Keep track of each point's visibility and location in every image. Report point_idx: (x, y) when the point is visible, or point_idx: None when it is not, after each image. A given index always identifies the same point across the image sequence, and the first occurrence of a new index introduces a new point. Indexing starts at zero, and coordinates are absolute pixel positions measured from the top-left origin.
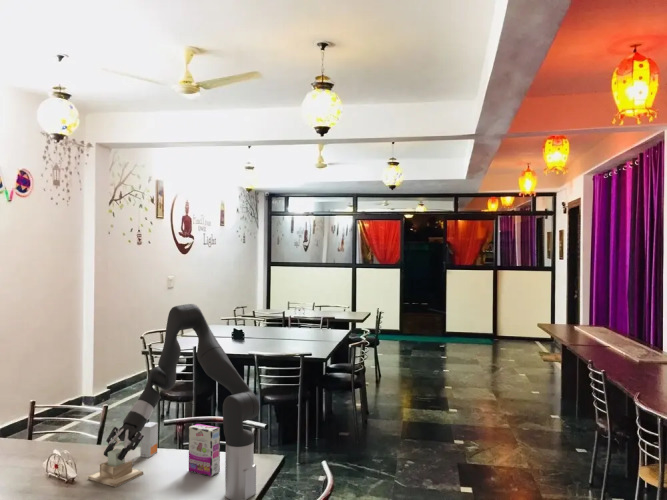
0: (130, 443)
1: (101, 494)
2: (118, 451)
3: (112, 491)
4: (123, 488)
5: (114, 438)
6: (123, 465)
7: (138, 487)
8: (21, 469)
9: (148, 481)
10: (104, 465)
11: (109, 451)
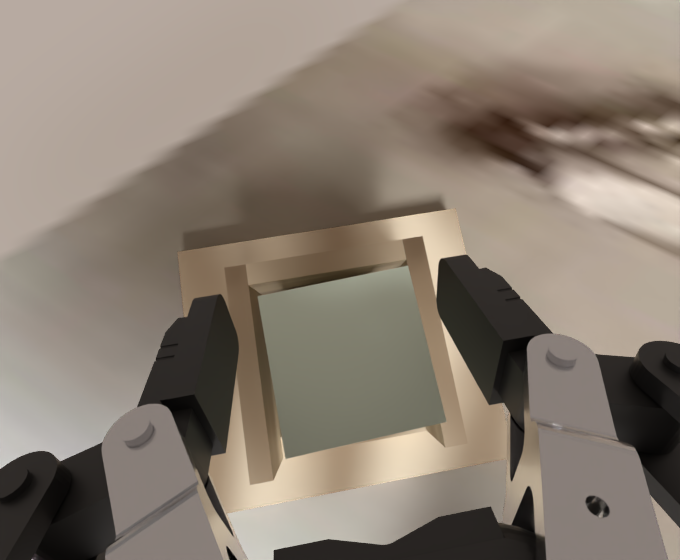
0: (13, 529)
1: (168, 151)
2: (318, 373)
3: (148, 211)
4: (125, 276)
5: (552, 429)
6: (238, 368)
7: (48, 347)
8: None
9: (67, 453)
10: (364, 247)
11: (460, 325)
